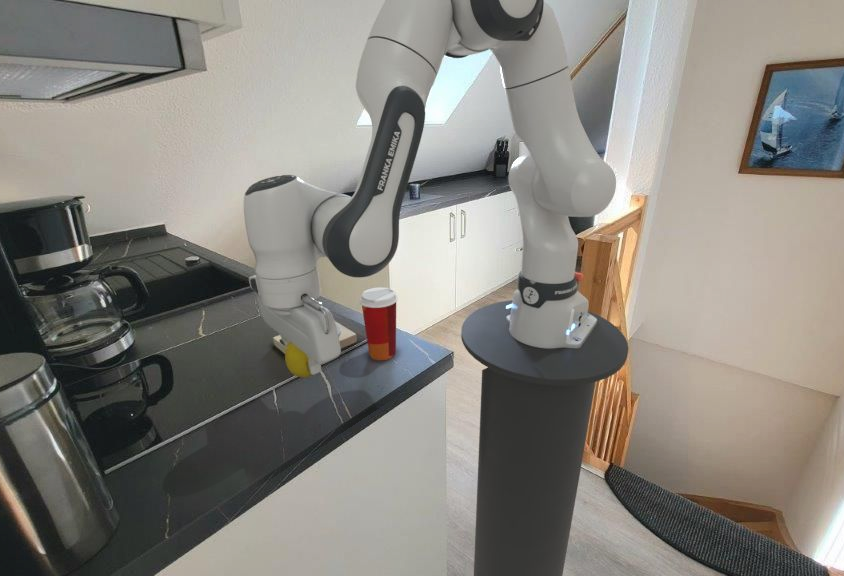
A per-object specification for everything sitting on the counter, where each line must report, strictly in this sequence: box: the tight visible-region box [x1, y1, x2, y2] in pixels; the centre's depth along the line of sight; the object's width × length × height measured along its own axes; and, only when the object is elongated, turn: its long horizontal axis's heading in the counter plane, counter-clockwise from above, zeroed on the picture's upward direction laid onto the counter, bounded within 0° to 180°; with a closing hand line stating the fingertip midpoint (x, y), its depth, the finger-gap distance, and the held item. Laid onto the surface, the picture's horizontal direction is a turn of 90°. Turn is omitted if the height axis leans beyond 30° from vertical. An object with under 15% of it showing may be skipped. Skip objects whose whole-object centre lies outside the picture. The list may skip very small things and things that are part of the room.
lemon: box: [284, 342, 313, 379], centre depth 67 cm, size 6×6×8 cm
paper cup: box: [359, 286, 399, 361], centre depth 84 cm, size 8×8×14 cm
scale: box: [272, 320, 358, 355], centre depth 90 cm, size 14×12×3 cm
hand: (304, 363), depth 67 cm, fingers closed on lemon, 5 cm apart
